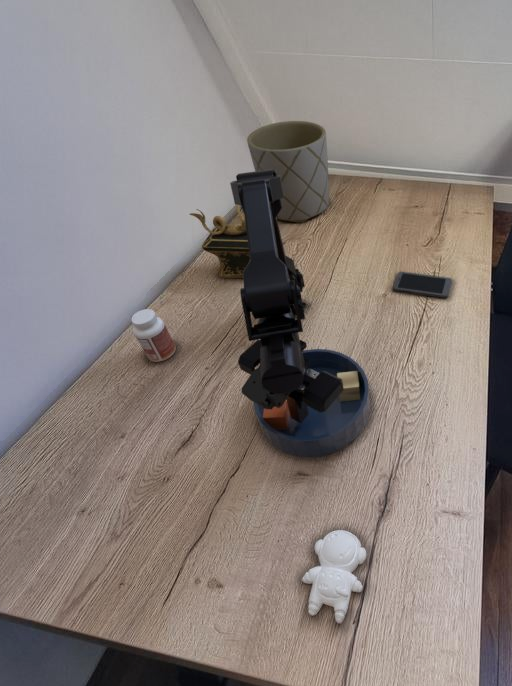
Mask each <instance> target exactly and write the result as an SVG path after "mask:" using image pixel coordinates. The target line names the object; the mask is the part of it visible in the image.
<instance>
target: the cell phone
mask: <svg viewBox="0 0 512 686" xmlns="http://www.w3.org/2000/svg"><path fill="white" fill-rule="evenodd" d="M452 283H453V279H452V278H451V277H445V276H437V275H429V274H422V273H414V272H408V271H400V272H398V273H397V275H396V278H395V281H394V284H393V286H392V290H393V291H394V292H400V293H406V294H414V295H415V294H416V295H421V296H427V297H435V298H440V299H441V298H442V299H447V298H449V295H450V290H451V287H452Z"/></svg>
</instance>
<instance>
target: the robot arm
mask: <svg viewBox="0 0 512 686" xmlns="http://www.w3.org/2000/svg"><path fill="white" fill-rule="evenodd" d="M235 178H236V180H232V181H231V182H229V184H230V189H231V193H232V197H233V202H234V205H236V206H238V205H240V208H241V210H242V213H243V214H244V218H245V222H246V230H247V238H248V247H249V255H250V261H249V263H248V265H247V266H246V268H245V270H244V271H243V278H242V280H243V288H242V287H241V288H240V290H239V291H240V292H239V293H240V301H241V305H242V311H243V316H244V317H243V318H244V322H245V327H246V333H247V339H248V341H249V342H252V341H254V342H253V343H252V344H251V345H250V346H249V347H248V348H246V349H245V350H244V351H242V353H241V354H240V355H239V357H238V361H237V363H238V366H239V369H240V370H241V371H243V372H245V373H246V374H248V375H249V377H248V378H247V380H246V381H245V383H244V384H243V386H242V387H241V390H240V391H241V394H242V395H243V396H245V398H247V399H249V400H250V401H251V402H253V403H254V402H255V403H256V404H258V405H260V406H262V407H263V408H265V409H270V410H271V409H273V407H277V408H280V407H281V406H282V405H283V404H284V402H285V400H286V399H287V397H288V396H289V397H291V398H292V399H294V400H296V401H297V403H298V405H299V407H300V408H301V409H303V408H304V406H305V405H307V406H309V407H311V408H313V409H314V410H316V411H318V412H320V413H321V412H325V411H326V410H327V409H328V408H329V407H330V405H331V404H332V403H333V402H334V401H335V400H336V398H337V397H338V396H339V395H340V394H341V392H342V391H343V390H344V389H343V382H342V379H341V378H339V377H336V376H334V375H332V374H330V373H328V372H326V371H321V373H320V374H319V373H318V372H316V371H314V370H312V369H306V368H307V367H308V366H309V364H310V360H309V359H307V358H305V357H303V353H302V351H304V350H306V348H307V342H306V341H304V340H303V339H302V340H301V339H300V334H299V333H302V332H304V329H303V322H302V321H303V320H306V316H305V308H306V307H307V303H306V302H304V301H303V297H302V292H303V289H304V288H305V280H304V275H303V273H301V271H300V270H299V268H296V266H295V260H294V259H293V258H291V257H289V256H287V255H286V252H285V249H284V248H285V247H284V243H283V239H282V235H281V229H280V225H279V221H278V220H279V219H277V215H278V214H279V212H280V211H281V209H282V204H281V198H284V193H283V187H282V182H281V176H280V175H276V171H275V170H272V169H270V170H263V171H255V170H254V171H249V172H242V173H237V174H236V176H235ZM252 316H253V318H254V320H257V319H258V320H257V323H255V324H253V321H252ZM305 369H306V370H305ZM290 392H291V393H290ZM289 393H290V394H289Z"/></svg>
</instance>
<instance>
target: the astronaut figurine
mask: <svg viewBox="0 0 512 686" xmlns="http://www.w3.org/2000/svg"><path fill="white" fill-rule="evenodd" d="M314 553H315V554H316V555H317V558H318V561H319V565H317V566H314V567H312V568H309V569H308V571H306V572H305V573H304V575H303V577H302V578H301V581H302V582H303V584H307V585H312V586H311V589H310V594H309V598H308V606H307V607H308V610H307V611H308V614H309V615H310V616H316V615H317V614H318V612H319V611H320V610H321V608H322V607H323V605H326V606H328V607H333V612H334V618H335V622H336V623H337V624H343V622H344V621H345V617H346V616H347V613H348V609H349V604H350V601H351V596H352V592H354V593H361V592H362V591H363V589H364V587H363V585H362V582H361V580H359V579H358V577H357V576H356V575H354V574H353V572H354V571H355V570H356V569H357V568H358V566H359V565H362V564H364V563H365V561H366V558H367V550H366V549H365V547H362V543H361V541H360V539H359V538H358V537H357V536H356V535H355V534H354V533H351V532H350V531H347V530H344V529H337V530H333V531H331V532H329V533H327V534H326V535H325V536H324V537H323V539H322V538H319V539H318V540H317V541H316V542H315V545H314Z"/></svg>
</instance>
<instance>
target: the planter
mask: <svg viewBox="0 0 512 686" xmlns="http://www.w3.org/2000/svg"><path fill="white" fill-rule="evenodd" d="M246 142H247V146H248V150H249V154H250V157H251V161H252V164H253V169H254V172H255V171H263V170H270V169H272V170H275V171H276V175H280V176H281V182H282V187H283V193H284V198H281V204H282V209H281V211H280V212H279V214H278V215H277V220H281V221H286V222H291V223H300V224H301V223H305V222H307V220H308V219H310V218H314V217H316V216H318V215H320V214H321V213H323V212H324V211H326V209H328V207H329V205H330V181H329V179H330V178H329V161H328V145H327V142H328V141H327V133H326V129H325V128H324V127H323V125H320V124H318V123H315V122H311V121H305V120H288V121H287V120H286V121H278V122H274V123H270V124H266V125H263V126H260V127H258V128H257V129H254V130H253V131H252V132H251V133H250V134H249V135H248V136H247V137H246Z"/></svg>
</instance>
